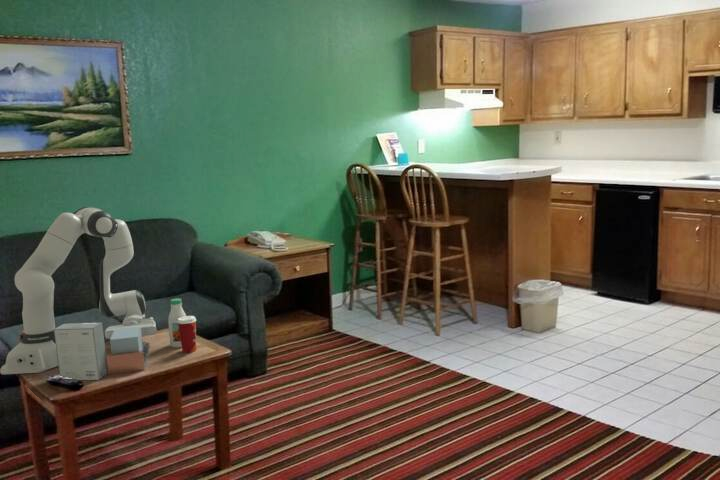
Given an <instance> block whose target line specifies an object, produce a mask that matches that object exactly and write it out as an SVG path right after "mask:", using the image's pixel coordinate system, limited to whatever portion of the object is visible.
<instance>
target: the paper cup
mask: <svg viewBox="0 0 720 480" xmlns="http://www.w3.org/2000/svg"><path fill="white" fill-rule="evenodd" d="M177 323H178V326H179V333H180V339H181V346H182V347H181V349H182V351H181V352H182V353H183V354H190V353H195V352H196V351H197V318H196V316H194V315H186V316H183V317H180V318H178V321H177Z"/></svg>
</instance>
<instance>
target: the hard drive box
mask: <svg viewBox="0 0 720 480" xmlns="http://www.w3.org/2000/svg"><path fill="white" fill-rule="evenodd" d="M54 336H55V344H56V351H57V359H58V366H57V367H58V373H59V377H60V376H62V377H68V378H72V379H77V380H76V381H100V380H101V379H102V378H103V377H105V376H106V375H107V374H108V367H107V358H106V356H107V353H106V345H105V334H104V329H103V322H75V323H62V324H61V325H59V326H57V327H56V328H55V329H54Z"/></svg>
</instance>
